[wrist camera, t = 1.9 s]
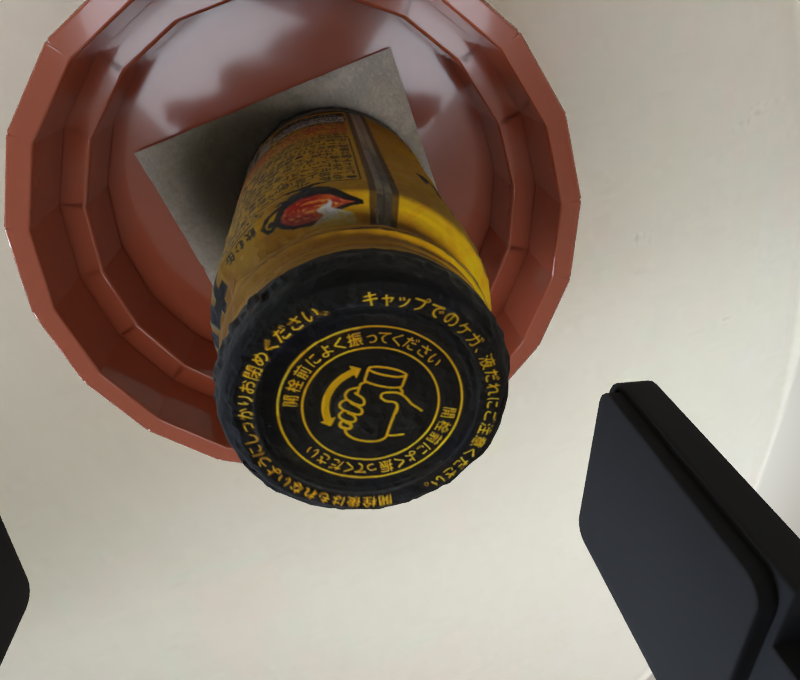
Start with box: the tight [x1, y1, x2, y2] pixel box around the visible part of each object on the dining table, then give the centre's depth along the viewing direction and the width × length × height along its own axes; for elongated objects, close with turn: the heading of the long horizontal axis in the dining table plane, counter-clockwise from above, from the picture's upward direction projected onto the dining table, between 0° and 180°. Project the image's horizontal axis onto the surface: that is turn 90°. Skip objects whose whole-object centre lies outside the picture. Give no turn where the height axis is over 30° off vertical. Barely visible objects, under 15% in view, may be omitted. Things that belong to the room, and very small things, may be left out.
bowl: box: [4, 0, 581, 463], centre depth 19 cm, size 15×15×5 cm
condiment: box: [134, 48, 510, 510], centre depth 16 cm, size 7×8×12 cm
